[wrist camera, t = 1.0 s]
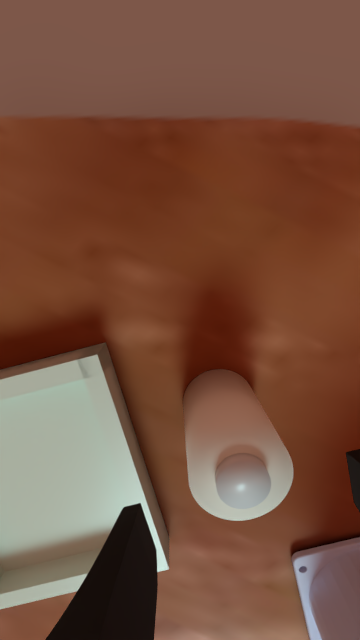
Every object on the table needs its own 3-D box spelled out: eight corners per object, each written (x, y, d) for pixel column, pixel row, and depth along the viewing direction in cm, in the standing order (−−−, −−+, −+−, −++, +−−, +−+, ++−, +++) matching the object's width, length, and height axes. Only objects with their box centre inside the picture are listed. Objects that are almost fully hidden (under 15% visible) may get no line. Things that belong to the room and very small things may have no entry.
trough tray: (169, 537, 20) (169, 569, 18) (-1, 578, 20) (-19, 613, 18) (105, 342, 17) (97, 354, 15) (-90, 393, 17) (-123, 411, 16)
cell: (260, 425, 18) (306, 517, 12) (192, 442, 19) (203, 541, 12) (245, 361, 18) (287, 424, 11) (174, 379, 18) (176, 451, 11)
